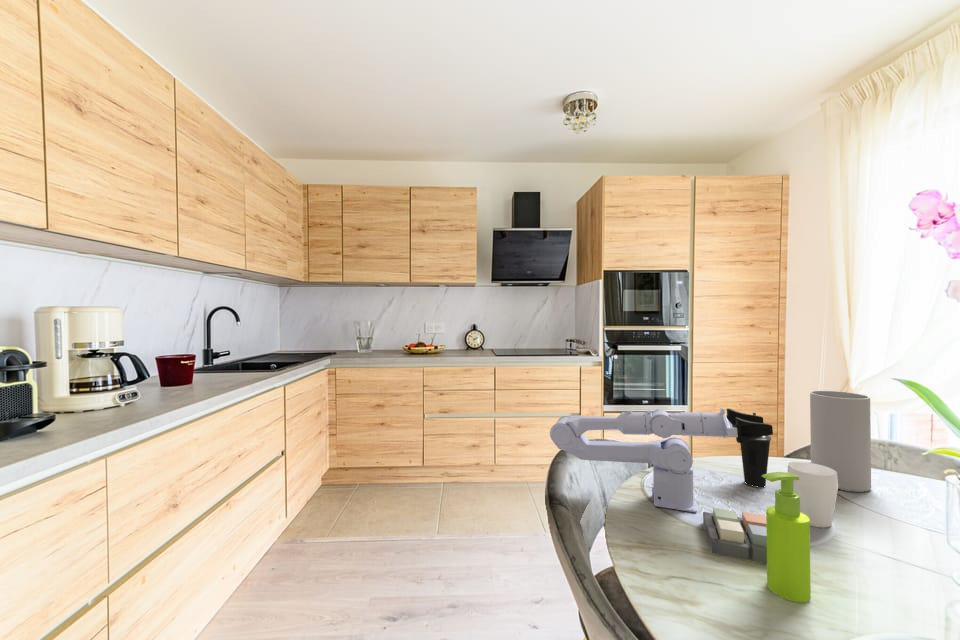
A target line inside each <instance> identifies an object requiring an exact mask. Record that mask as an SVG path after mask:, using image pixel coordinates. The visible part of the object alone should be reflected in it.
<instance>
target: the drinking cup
mask: <svg viewBox="0 0 960 640" xmlns="http://www.w3.org/2000/svg"><path fill="white" fill-rule="evenodd" d="M752 415H756V416H757V414H756V412H752ZM771 441H772V436H771V435H769V436H763V437H757V438H753V439H750V440H747V441H745V442H743V443H739V444H740V452H741V462H742V471H743V479H744V480H743V481H744V483H745V482H746V483H747V484H750V485H753V486H758V487H763V488H765V487H766V484H767V479H765V478H763V477H762V475H764V474H767V473H768V465H769V456H770V455H769V453H770V444H771ZM747 484H746V485H747ZM764 486H765V487H764Z"/></svg>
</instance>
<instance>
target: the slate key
mask: <svg viewBox="0 0 960 640" xmlns="http://www.w3.org/2000/svg"><path fill="white" fill-rule="evenodd" d="M748 537H749V539H750V541H751V543H752V545H756V546H761V547H767V527H763V526H757V525H751V524H748Z"/></svg>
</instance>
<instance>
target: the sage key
mask: <svg viewBox="0 0 960 640" xmlns="http://www.w3.org/2000/svg"><path fill="white" fill-rule="evenodd" d="M712 513H713V520H714V523H715V526H717V519H719V520H725V521H732V522H738V518H737V517H738V516H737V514H736V512H735V510H732V509H724V508H716V507H712Z"/></svg>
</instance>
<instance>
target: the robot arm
mask: <svg viewBox="0 0 960 640" xmlns="http://www.w3.org/2000/svg"><path fill="white" fill-rule="evenodd" d="M610 430H611V431H613V430H616V431H617V430H618V431H619V432H620V433H621V434H623V435H634V436H637V435H641V436H643V435H644V436H647V435H648V436H649V435H655V436H657V437H660V438H662V440H659V439H657V440H654V441H651V442H645V441H644V442H643V441H642V442H639V441H613V440H612V441H609V440H589V439H588V438H587V437H586V436H585V434H584V433H586V432H588V431H610ZM549 435H550V439H551V441H552V443H554V445H555V446H556V448H558V450H561V451H565V452H567V453H568V454H570V455H572V456H574V457H576V458H578V459H579V460H582V461H596V462H597V461H598V462H599V461H600V462H613V463H615V462H616V463H633V464H634V463H636V464H637V463H638V464H652V465H653V466H652V470H653V472H652V473H653V474H652V476H653V479H652V480H653V483H652V485H653V486H652V489H651V493H652V495H653V506H654V507H659V508H664V509H665V508H666V509H670V510H678V511H682V512H689V513H698V509H697V506H696V505H697V504H696V501H695V498H694V496H695V495H694V467H693V463H694V459H693V457H692V454H691V453H690V447H689V444H688V443H687V442H686V440H684V439H682V438H681V437H676V436H684V437H686V436H687V437H715V438H716V437H717V438H718V437H719V438H721V437H723V438H725V439H726V438H736V439H735V440H736V443H738V444H740V443H743V442H745V441H747V440H750V439H753V438H757V437H763V436H773V435H774V431H773V425H772V424H769V423H764V417H763V416H760V415H757V414H756V415H753V414H749V413H744V412H741V411H740V412H739V411H737V410H734V409H732V408H730V407H729V408H726V411H725V408H724V407H720V408H719V412H700V411H698V412H695V411H694V412H693V411H692V412H691V411H690V412H689V411H687V412H685V411H681V412H667V411H665V410H663V409H654V410H646V411H637V412H636V411H632V409H626V411H623V412H622V411H621V412H620V414H619V415H618V416H603V415H581V414H580V415H579V414H578V415H577V414H574V415H571V416H570V415H564V416H561V417H559V418H558V420H557V422H556V423H555V424H553V425H552V427H550V430H549ZM672 436H673V437H672ZM652 495H651V496H652Z"/></svg>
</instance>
